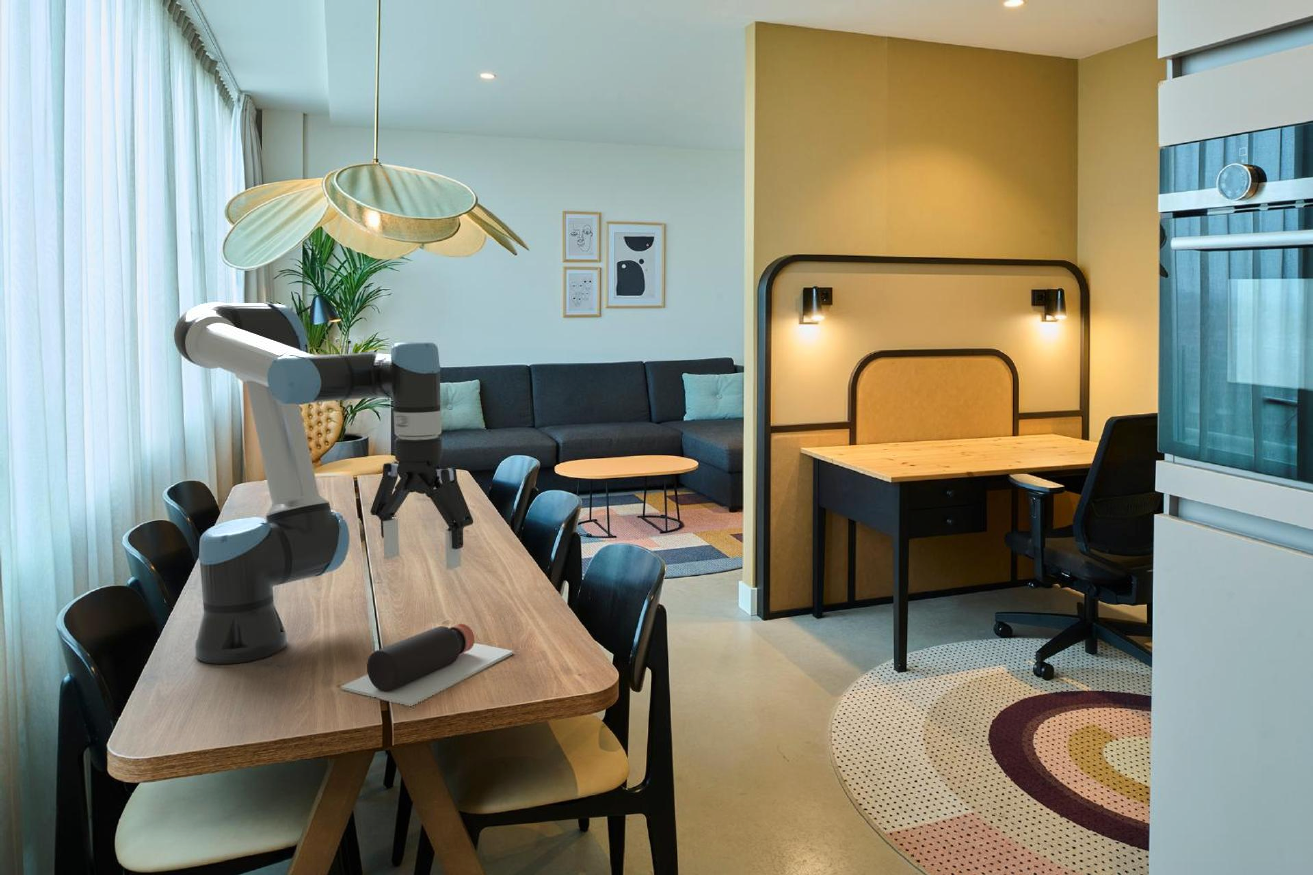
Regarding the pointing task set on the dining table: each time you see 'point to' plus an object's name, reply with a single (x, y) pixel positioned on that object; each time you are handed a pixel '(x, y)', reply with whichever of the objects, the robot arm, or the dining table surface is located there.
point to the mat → (434, 677)
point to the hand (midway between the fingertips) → (422, 562)
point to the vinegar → (418, 656)
